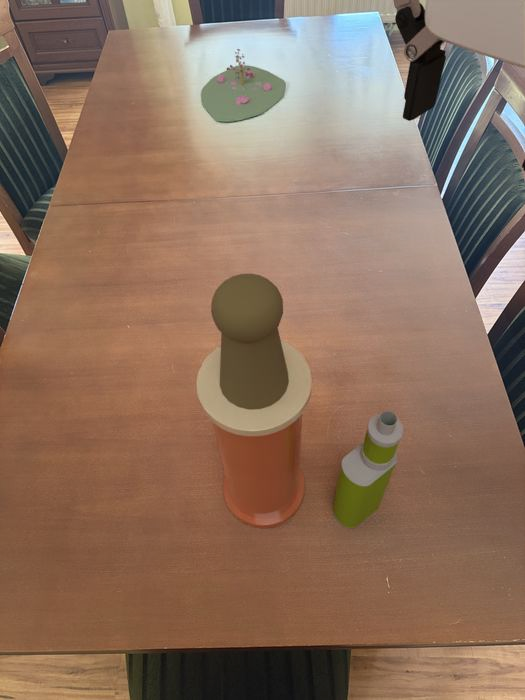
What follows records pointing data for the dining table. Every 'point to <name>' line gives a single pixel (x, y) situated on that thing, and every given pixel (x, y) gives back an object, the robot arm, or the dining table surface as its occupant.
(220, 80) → the plant
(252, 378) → the olive pawn
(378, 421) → the vape
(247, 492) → the column
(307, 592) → the dining table surface
